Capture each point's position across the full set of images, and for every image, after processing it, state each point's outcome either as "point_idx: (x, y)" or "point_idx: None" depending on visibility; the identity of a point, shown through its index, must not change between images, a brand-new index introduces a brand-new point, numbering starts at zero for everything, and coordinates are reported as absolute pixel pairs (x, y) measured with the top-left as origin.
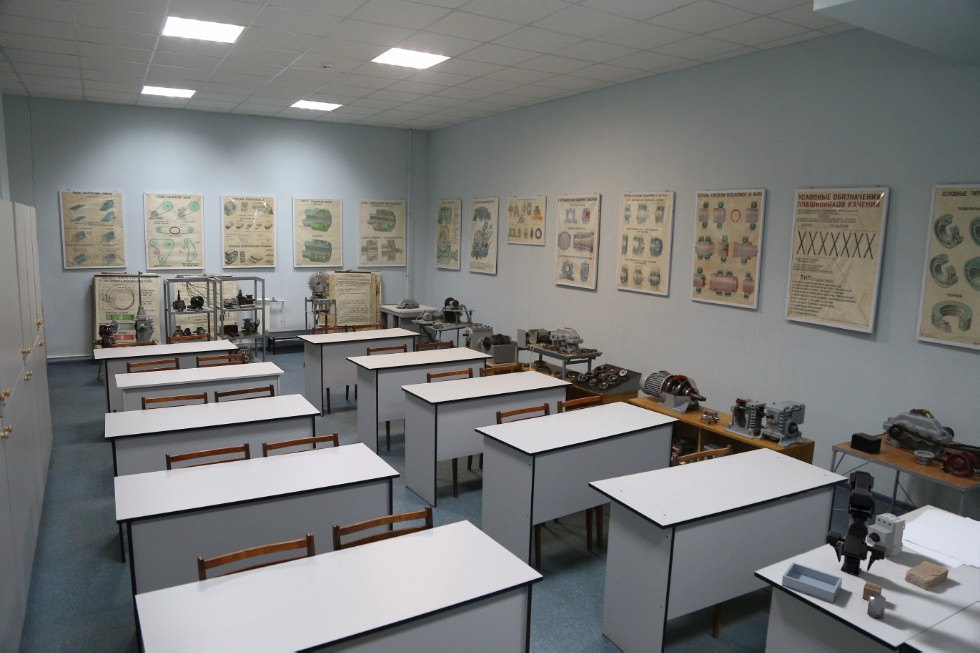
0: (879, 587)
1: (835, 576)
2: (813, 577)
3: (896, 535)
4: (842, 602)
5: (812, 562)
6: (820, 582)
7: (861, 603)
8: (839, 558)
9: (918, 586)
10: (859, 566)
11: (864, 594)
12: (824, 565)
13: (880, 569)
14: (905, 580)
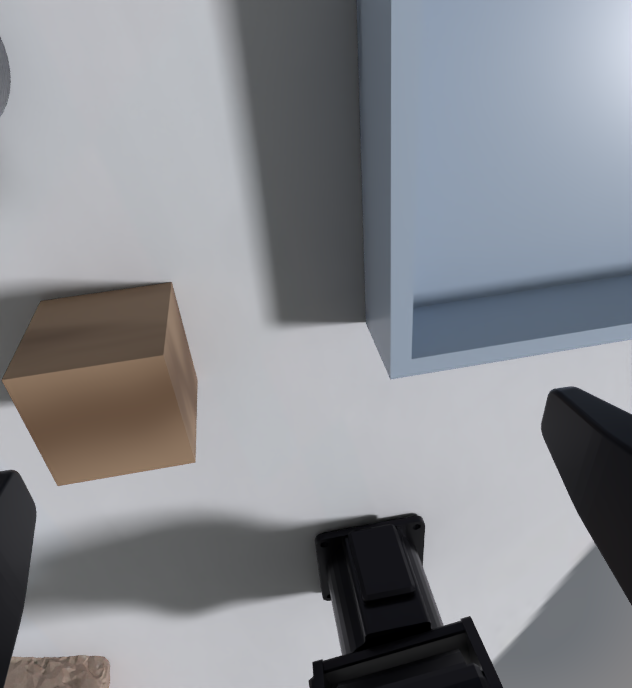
0: (59, 457)
1: (446, 360)
2: (586, 284)
3: None
4: (280, 62)
5: None
6: (525, 259)
7: (143, 204)
8: (626, 440)
9: (24, 660)
10: (333, 603)
11: (155, 313)
12: (514, 496)
13: (248, 653)
14: (104, 659)
